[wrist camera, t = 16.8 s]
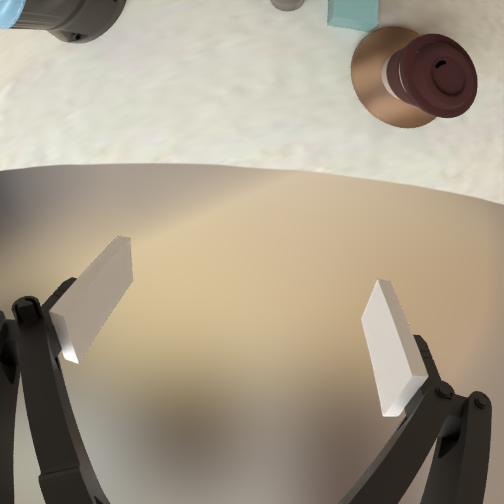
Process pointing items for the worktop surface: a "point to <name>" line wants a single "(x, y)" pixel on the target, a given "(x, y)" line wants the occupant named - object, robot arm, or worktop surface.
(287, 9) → the gray cylinder
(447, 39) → the coffee cup
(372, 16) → the teal block
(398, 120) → the walnut board
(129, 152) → the worktop surface
